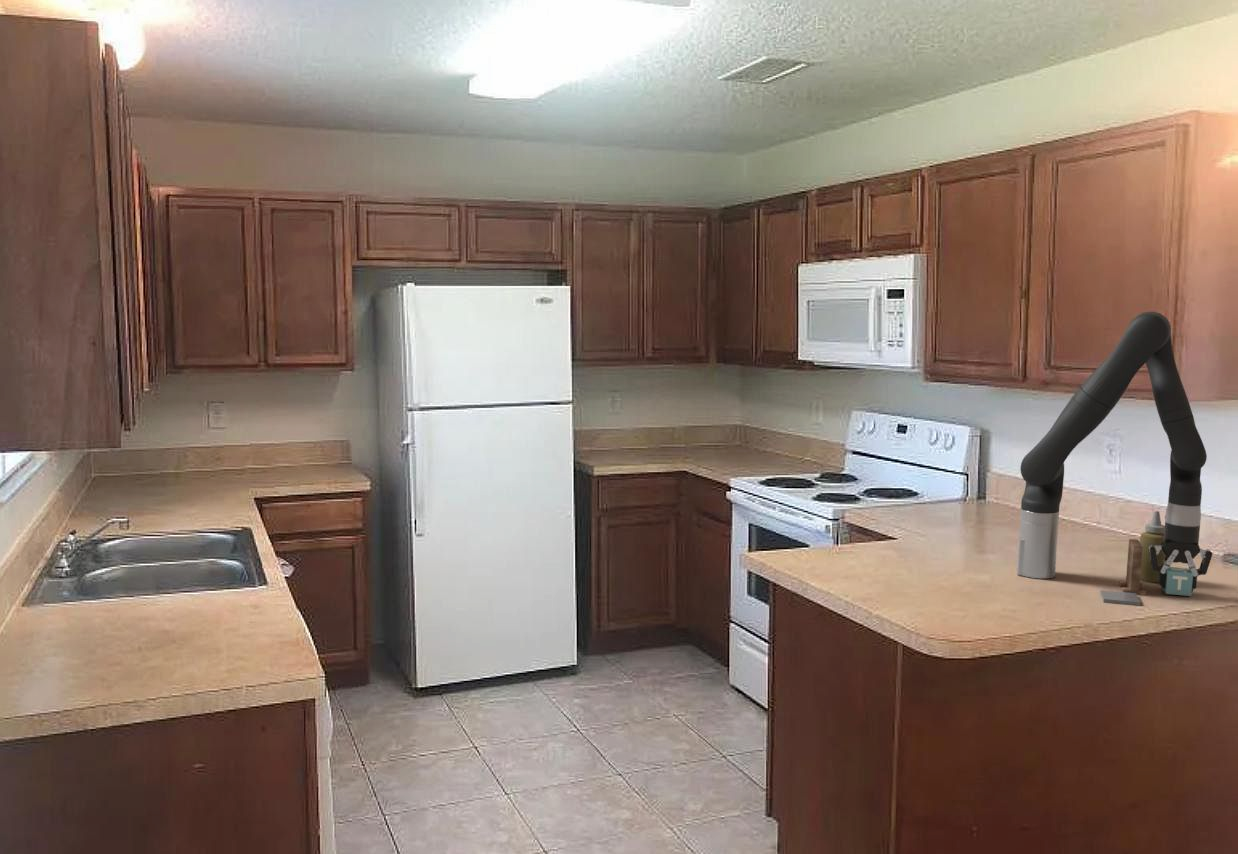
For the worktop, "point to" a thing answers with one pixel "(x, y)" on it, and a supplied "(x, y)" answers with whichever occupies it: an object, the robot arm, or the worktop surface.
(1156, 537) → the squeeze bottle
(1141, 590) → the screen
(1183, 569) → the cube
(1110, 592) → the coaster
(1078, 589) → the worktop surface
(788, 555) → the worktop surface
